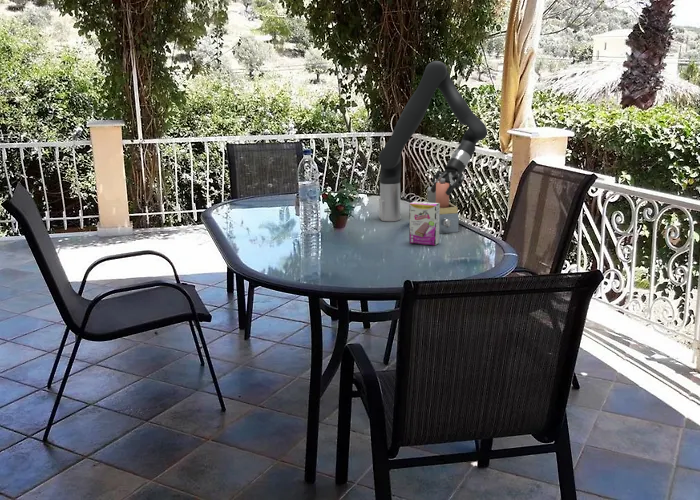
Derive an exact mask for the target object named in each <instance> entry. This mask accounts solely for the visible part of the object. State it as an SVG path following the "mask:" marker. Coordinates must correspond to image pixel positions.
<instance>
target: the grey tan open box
mask: <svg viewBox="0 0 700 500" xmlns="http://www.w3.org/2000/svg"><path fill="white" fill-rule="evenodd" d="M459 216H460V215H459V212H458V206H456V205H454V204H453V203H451V202H450V201H449V207H447V208H440V213H439V234H448V233H450V234H451V233H459V219H460V218H459Z"/></svg>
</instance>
